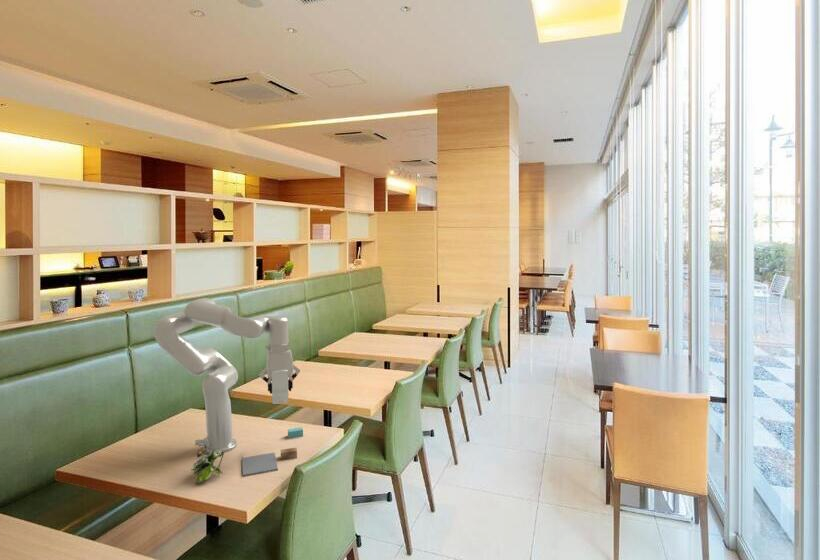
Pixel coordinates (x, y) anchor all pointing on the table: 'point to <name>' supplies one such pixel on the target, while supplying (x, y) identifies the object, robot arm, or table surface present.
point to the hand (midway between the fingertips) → (280, 391)
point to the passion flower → (206, 465)
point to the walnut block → (288, 453)
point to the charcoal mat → (259, 464)
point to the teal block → (295, 432)
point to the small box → (280, 387)
